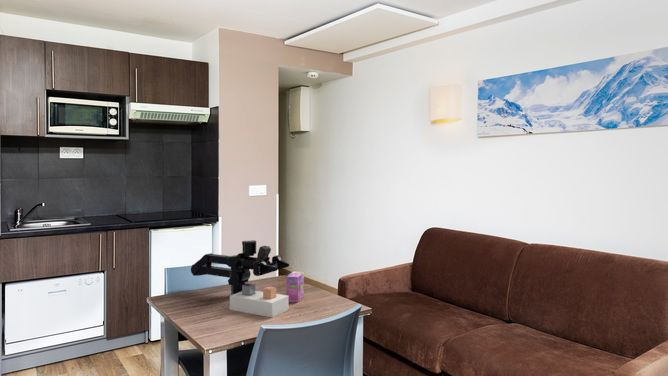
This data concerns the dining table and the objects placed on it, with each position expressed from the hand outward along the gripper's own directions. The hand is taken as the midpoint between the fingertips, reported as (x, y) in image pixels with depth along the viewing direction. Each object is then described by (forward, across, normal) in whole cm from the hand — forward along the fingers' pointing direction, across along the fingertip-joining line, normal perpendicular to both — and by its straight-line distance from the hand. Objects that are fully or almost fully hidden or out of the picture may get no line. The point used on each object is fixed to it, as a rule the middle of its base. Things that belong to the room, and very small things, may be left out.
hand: (283, 267), depth 203 cm
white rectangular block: (-4, -12, +16) cm, 21 cm away
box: (+1, +9, +17) cm, 19 cm away
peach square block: (+1, -12, +12) cm, 17 cm away
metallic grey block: (-10, -12, +12) cm, 20 cm away
